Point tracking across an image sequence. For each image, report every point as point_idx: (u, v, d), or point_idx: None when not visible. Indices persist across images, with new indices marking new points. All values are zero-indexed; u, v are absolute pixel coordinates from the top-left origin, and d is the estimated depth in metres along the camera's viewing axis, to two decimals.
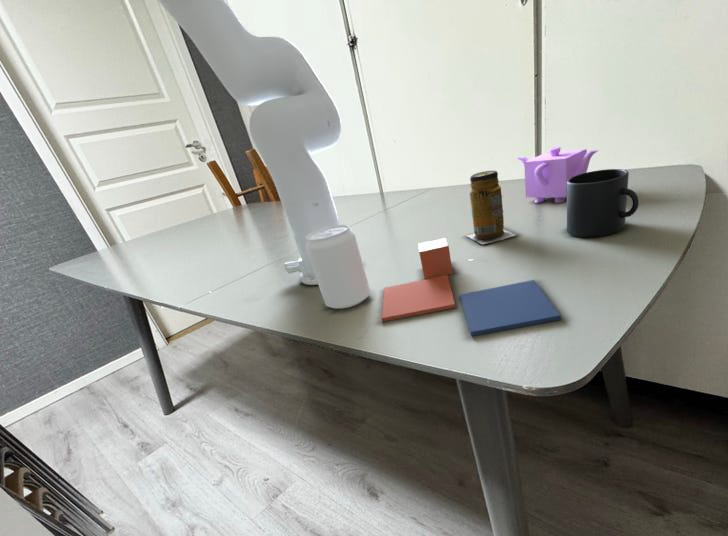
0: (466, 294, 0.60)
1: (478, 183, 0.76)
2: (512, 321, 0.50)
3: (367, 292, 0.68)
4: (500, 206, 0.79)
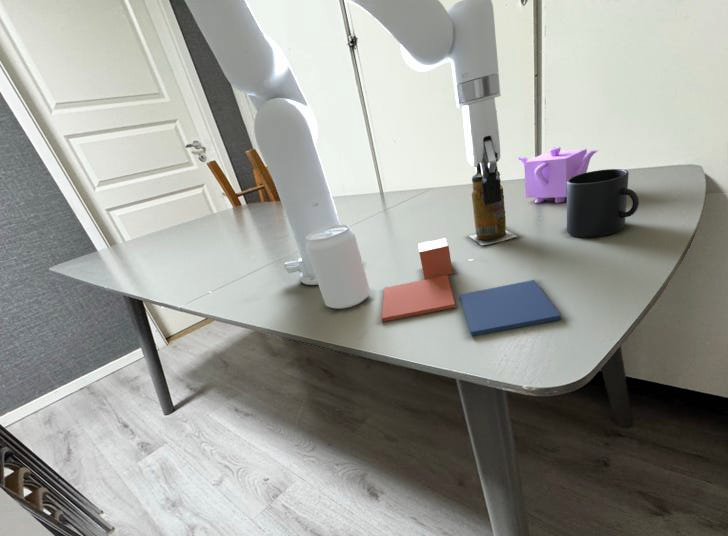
0: (466, 294, 0.60)
1: (479, 184, 0.76)
2: (512, 321, 0.50)
3: (367, 292, 0.68)
4: (502, 207, 0.78)
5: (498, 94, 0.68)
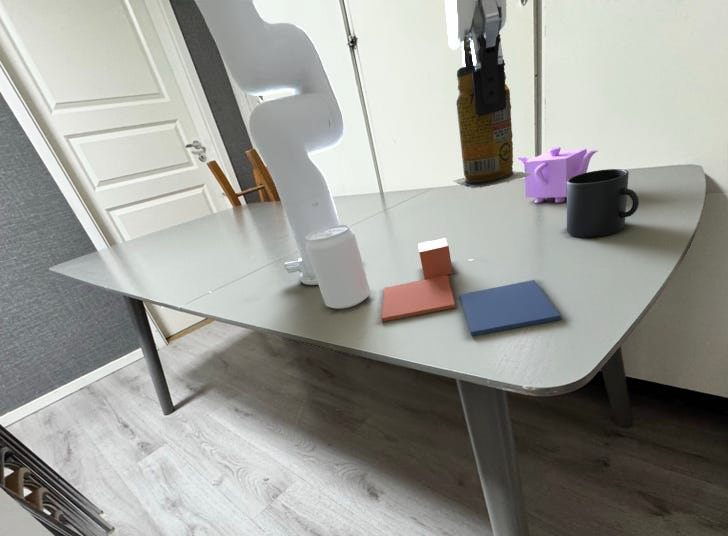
0: (466, 294, 0.60)
1: (470, 78, 0.44)
2: (512, 321, 0.50)
3: (367, 292, 0.68)
4: (507, 123, 0.46)
5: None
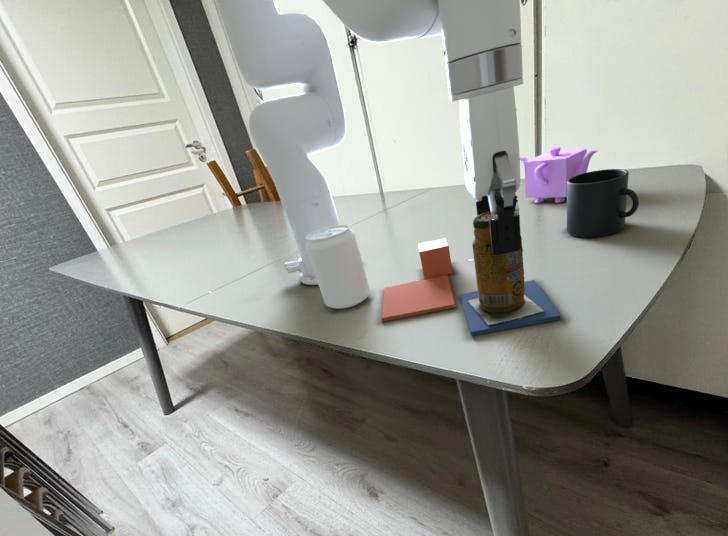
0: (466, 294, 0.60)
1: (485, 232, 0.48)
2: (512, 321, 0.50)
3: (367, 292, 0.68)
4: (520, 265, 0.50)
5: (520, 81, 0.40)
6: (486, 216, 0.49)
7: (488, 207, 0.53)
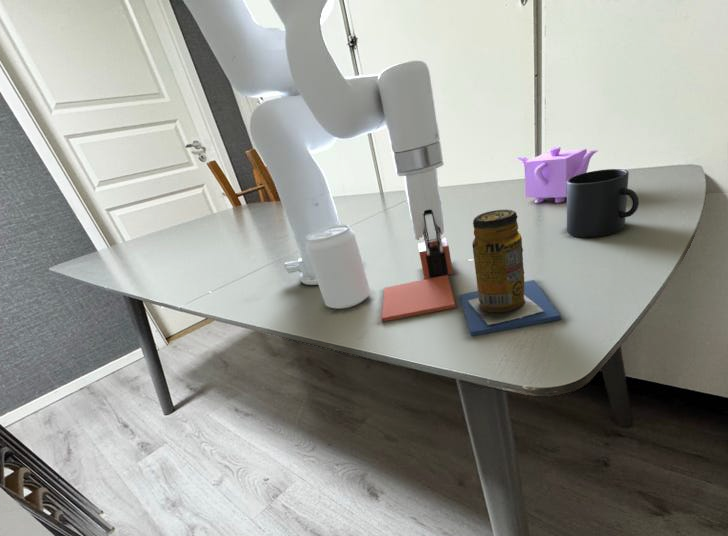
0: (466, 294, 0.60)
1: (485, 232, 0.48)
2: (512, 321, 0.50)
3: (367, 292, 0.68)
4: (519, 265, 0.50)
5: (439, 164, 0.61)
6: (486, 216, 0.49)
7: None
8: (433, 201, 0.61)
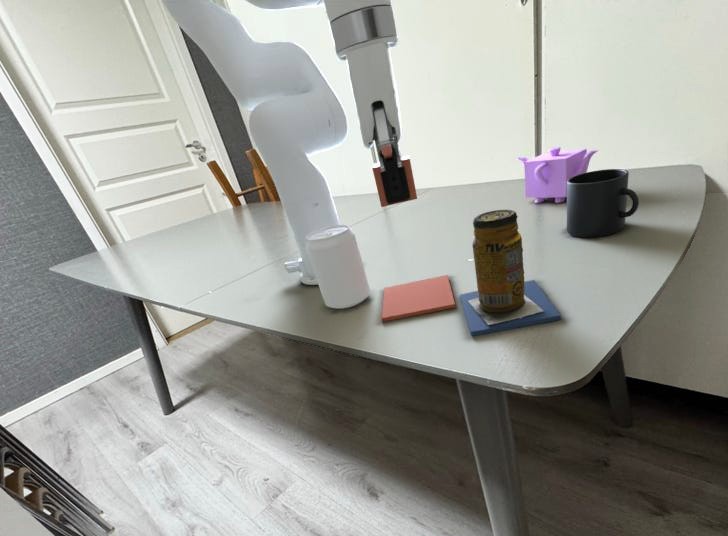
0: (466, 294, 0.60)
1: (485, 232, 0.48)
2: (512, 321, 0.50)
3: (367, 292, 0.68)
4: (519, 265, 0.50)
5: (392, 38, 0.46)
6: (486, 216, 0.49)
7: None
8: (384, 88, 0.46)
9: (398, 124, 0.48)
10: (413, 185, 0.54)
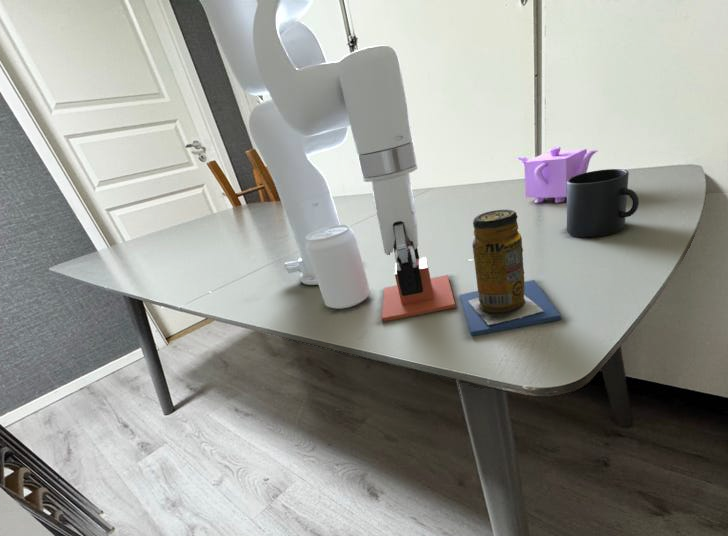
0: (466, 294, 0.60)
1: (485, 232, 0.48)
2: (512, 321, 0.50)
3: (367, 292, 0.68)
4: (519, 265, 0.50)
5: (412, 169, 0.52)
6: (486, 216, 0.49)
7: None
8: (404, 211, 0.53)
9: (415, 238, 0.55)
10: (430, 288, 0.60)
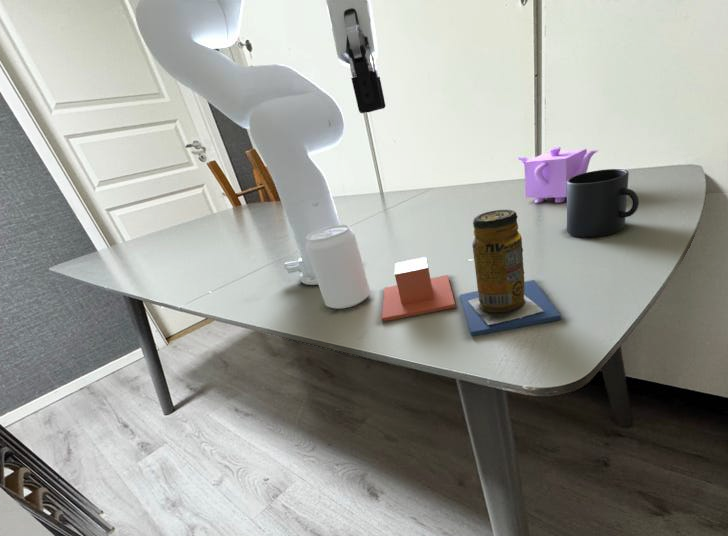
0: (466, 294, 0.60)
1: (485, 232, 0.48)
2: (512, 321, 0.50)
3: (367, 292, 0.68)
4: (519, 265, 0.50)
5: None
6: (486, 216, 0.49)
7: None
8: None
9: (371, 34, 0.49)
10: (430, 288, 0.60)
